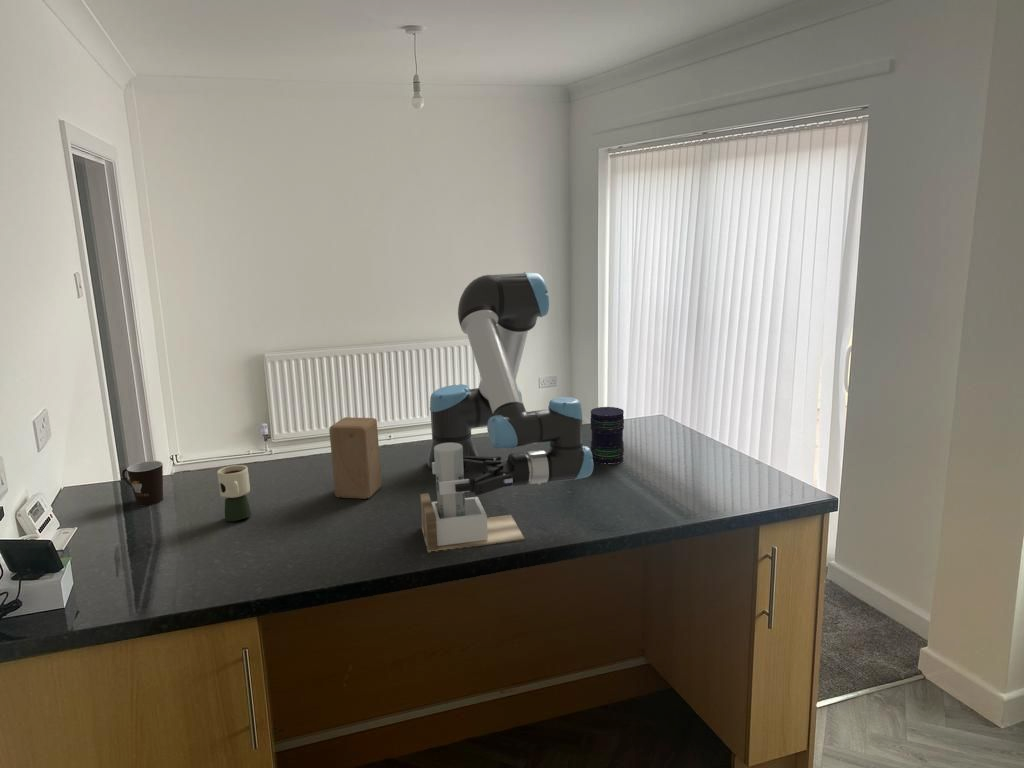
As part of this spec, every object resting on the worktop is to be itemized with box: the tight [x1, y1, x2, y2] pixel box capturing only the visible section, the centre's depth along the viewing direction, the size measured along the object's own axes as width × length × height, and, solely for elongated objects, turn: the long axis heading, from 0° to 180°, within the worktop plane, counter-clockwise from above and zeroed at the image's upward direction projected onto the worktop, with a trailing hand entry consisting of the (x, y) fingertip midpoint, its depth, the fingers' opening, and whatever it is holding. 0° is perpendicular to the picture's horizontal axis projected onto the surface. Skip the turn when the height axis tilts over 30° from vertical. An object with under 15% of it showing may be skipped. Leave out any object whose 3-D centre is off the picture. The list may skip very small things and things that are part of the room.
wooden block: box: [329, 416, 383, 500], centre depth 197 cm, size 10×10×20 cm
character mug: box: [216, 464, 252, 522], centre depth 183 cm, size 11×7×13 cm, turn 26°
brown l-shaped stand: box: [419, 492, 525, 553], centre depth 170 cm, size 14×22×8 cm, turn 103°
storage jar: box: [590, 406, 625, 465], centre depth 217 cm, size 10×10×15 cm
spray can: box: [434, 443, 466, 519], centre depth 168 cm, size 6×6×20 cm
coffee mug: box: [121, 460, 164, 506], centre depth 198 cm, size 12×9×10 cm
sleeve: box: [431, 496, 488, 546], centre depth 170 cm, size 12×12×6 cm
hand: (435, 478), depth 166 cm, fingers open, 13 cm apart
